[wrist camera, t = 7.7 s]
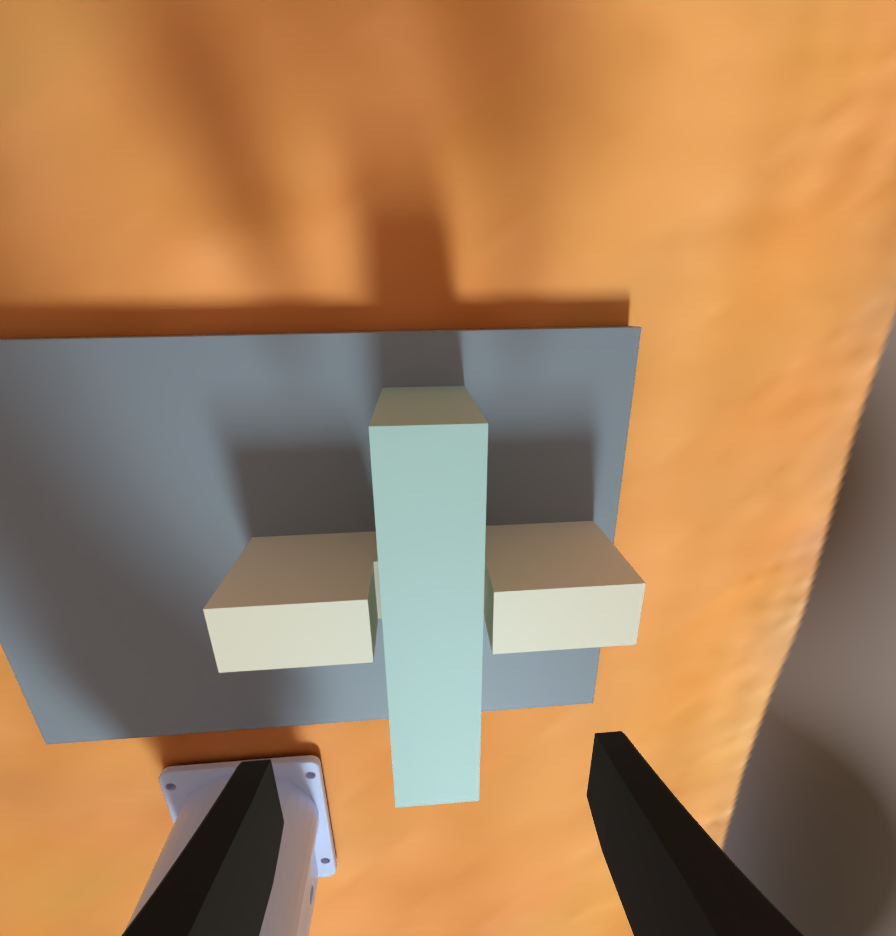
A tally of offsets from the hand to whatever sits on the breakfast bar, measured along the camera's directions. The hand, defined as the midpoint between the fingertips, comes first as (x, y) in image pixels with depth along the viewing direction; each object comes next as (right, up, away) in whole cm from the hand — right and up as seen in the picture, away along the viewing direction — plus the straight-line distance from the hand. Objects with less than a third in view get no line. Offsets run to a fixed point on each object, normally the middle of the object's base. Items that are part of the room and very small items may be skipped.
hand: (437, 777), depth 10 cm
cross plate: (-1, +3, +9) cm, 9 cm away
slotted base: (-6, +3, +9) cm, 11 cm away
